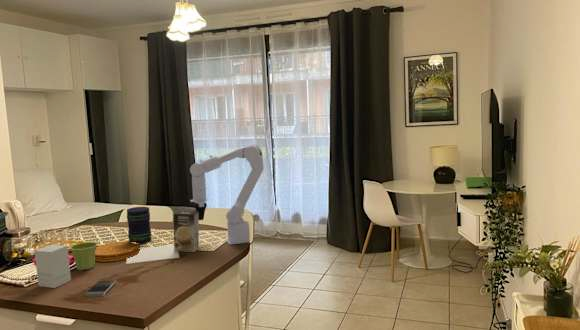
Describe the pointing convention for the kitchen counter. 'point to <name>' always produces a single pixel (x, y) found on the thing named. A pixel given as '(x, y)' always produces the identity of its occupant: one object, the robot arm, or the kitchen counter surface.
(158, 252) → the mat
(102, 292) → the cell phone
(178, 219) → the coffee box
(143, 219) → the storage jar
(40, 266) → the supplement box
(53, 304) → the kitchen counter surface
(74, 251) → the plant pot
